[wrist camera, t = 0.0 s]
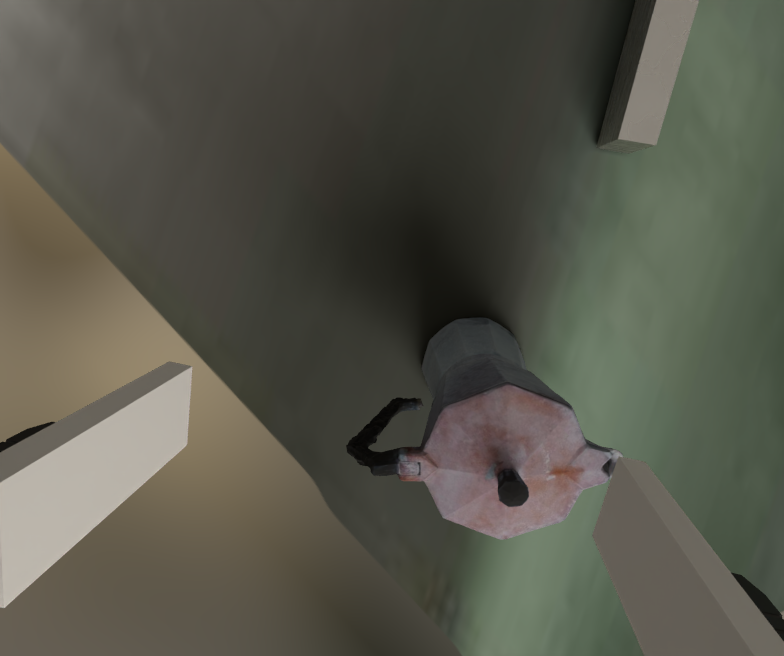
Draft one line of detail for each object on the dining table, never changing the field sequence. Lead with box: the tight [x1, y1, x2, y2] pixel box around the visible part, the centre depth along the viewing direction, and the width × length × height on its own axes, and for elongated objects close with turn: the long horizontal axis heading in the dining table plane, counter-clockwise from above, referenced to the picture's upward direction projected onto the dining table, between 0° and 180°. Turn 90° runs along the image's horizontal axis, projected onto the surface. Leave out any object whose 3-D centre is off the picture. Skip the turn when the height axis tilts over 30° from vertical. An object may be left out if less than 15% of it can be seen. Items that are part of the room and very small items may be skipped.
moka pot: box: [346, 318, 623, 539], centre depth 33 cm, size 10×15×20 cm, turn 96°
